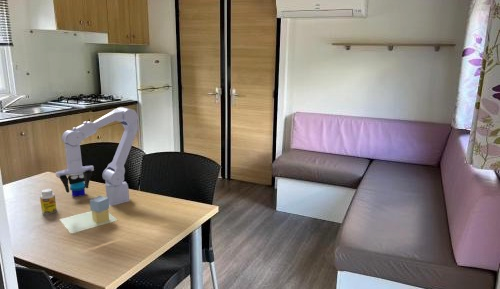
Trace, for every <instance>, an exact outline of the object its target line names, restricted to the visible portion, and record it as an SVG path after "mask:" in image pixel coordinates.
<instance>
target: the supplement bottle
mask: <svg viewBox="0 0 500 289" xmlns="http://www.w3.org/2000/svg"><path fill="white" fill-rule="evenodd" d="M39 198H40V199H39V200H40V205H41V206H40V207H41V213H42V214H43V215H51V214H53V213H56V212H57V203H56V195H55V193H54V192H53V189H51V188H45V189H42V190H41V195H39Z"/></svg>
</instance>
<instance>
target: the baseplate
mask: <svg viewBox="0 0 500 289" xmlns="http://www.w3.org/2000/svg"><path fill="white" fill-rule="evenodd" d="M59 221H60V222H61V224H62V225H63V226H64V227H65V228H66V230H67V231H68V232H69V233H70V234H75V233H78V232H81V231H85V230H89V229H93V228H96V227H99V226H104V225H107V224H109V223H114V222H117V221H118V219H117V218H116V217H115V216H113V215H112V214H111V213H110V212H109V220H107V221H104V222H100V223H96V222H95V221H94V220H93V219H92V210H90V211H87V212H82V213H78V214H75V215H71V216H67V217H63V218H59Z"/></svg>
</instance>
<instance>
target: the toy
mask: <svg viewBox="0 0 500 289" xmlns="http://www.w3.org/2000/svg"><path fill="white" fill-rule="evenodd" d="M67 178H68V185H70V186H69V191H71V196H72V197H79V196H80V197H81V196H82V197H83V196H85V195H86V190H85V189H86V188H85V182H84V175H83V172H82V173H76V174H71V175H67Z"/></svg>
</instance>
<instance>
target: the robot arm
mask: <svg viewBox="0 0 500 289" xmlns="http://www.w3.org/2000/svg"><path fill="white" fill-rule="evenodd" d="M138 120H139V115H138V113H137V111H136V110H135V109H133V108H127V107H123V106H119V107H117V108H115V109H112V110H111V111H110V112H108V113H107V114H105V115H103V116H101V117H100V118H97V119H95V120H94V121H93V122H92V121H89V120H88V121H83V122H82V124H80V125H78V126H76V127H72V129H69V130H65V131H64V132H63V133H62V136H61V137H60V138H61V141H62V142H63V143H64V152H65V159H66V167H67V168H66V169H63V170H59V171H55V176H56V178H57V179H58V178H59V179H60V181H61V183H62V184H63V187H64V189H65V191H66V193H70V186H69V180H68V176H69V175H71V174H76V173H82V172H83V175H84V184H85V189H88V188H89V184H90V180H91V177H92V176H93V171H95V169H94V168H95V167H94V165H85V166H83V162H82V153H81V152H82V151H81V143H82V141H83V140H86V139H87V138H89V137H91V136H93V135H94V134H97V131H98V129H101V128H103V127H104V126H107V125H109V124H111V123H112V122H118V123H120V124H121V125H122V127H123V129H124V130H123V133H122V136H121V139H120V141H119V144H118V146H117V148H116V151H115V154H114V156H113V159H112V161H111V162H110V163H108V164H107V167H106V168H105V169H104V170H103V172H102V175H101V176H102V179H103V180H104V181H105V183H104V184H105V194H106V198H108V200H109V207H112V206H116V205H119V204H120V205H121V204H124V203H128V202H131V200H130V192H129V191H130V190H129V184H128V183H127V181H125V173H126V168H125V164H126V162H127V159H128V156H129V154H130V151H131V149H132V146H133V143H134V141H135V139H136V136H137V133H138V131H139V126H138Z"/></svg>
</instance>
